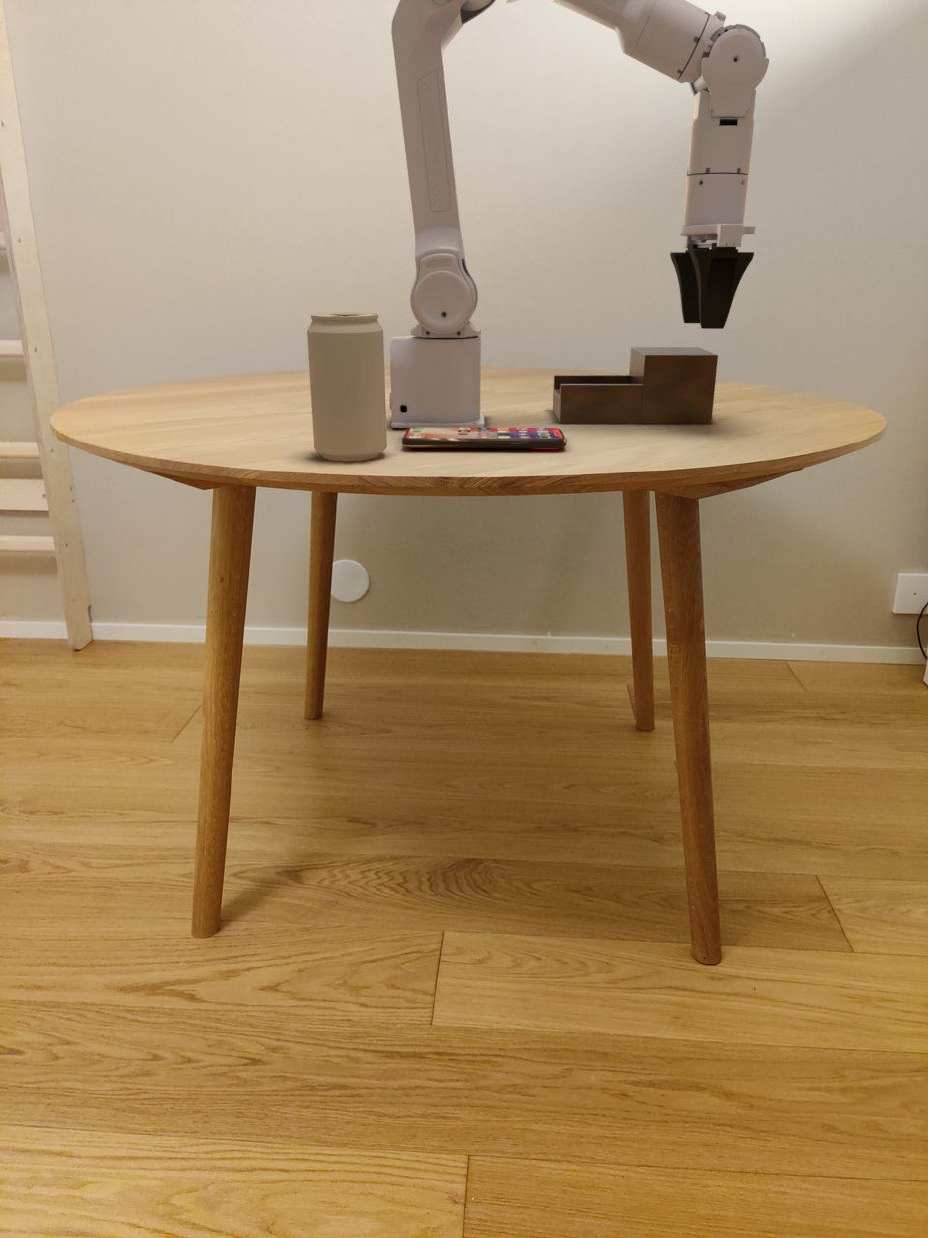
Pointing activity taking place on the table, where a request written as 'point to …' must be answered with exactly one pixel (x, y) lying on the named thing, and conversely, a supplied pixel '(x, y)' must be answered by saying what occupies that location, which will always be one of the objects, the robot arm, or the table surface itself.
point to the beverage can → (347, 385)
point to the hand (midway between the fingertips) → (702, 325)
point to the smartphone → (483, 437)
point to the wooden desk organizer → (642, 390)
